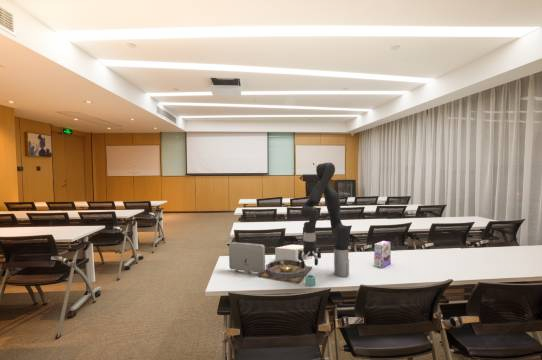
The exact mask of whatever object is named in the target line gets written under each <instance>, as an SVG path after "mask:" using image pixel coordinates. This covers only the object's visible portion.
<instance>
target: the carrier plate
mask: <svg viewBox="0 0 542 360" xmlns="http://www.w3.org/2000/svg"><path fill="white" fill-rule="evenodd" d="M280 264H281V265H276V266H274V267H271V268H270V269H271V270H272V271H276V272H279V273H283V272H280V266H283V261H280ZM284 265H287V264H284ZM289 266H293V271H292V272H290V273H293V272H298V271H300V270H303V268H301V267H300V266H295V265H290V264H289ZM306 266H307V272H306V274H305V275H303V276H300V277H297V278H286V279H283V278H277V277H272V276H270V275H268V274H267V272H266V269H265V271H263V272H262V273H261V274H259V275H258V278H263V279H269V280H275V281H280V282H286V283H293V284H299V285H300V283H302V281H303V280H304V279H305V277H306V275H309V273H310V272H311V271H312V270H313V266H310V265H306ZM285 273H288V272H285Z"/></svg>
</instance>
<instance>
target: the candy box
mask: <svg viewBox="0 0 542 360" xmlns="http://www.w3.org/2000/svg"><path fill="white" fill-rule="evenodd" d="M373 246H374V247H373V248H374V252H373V255H374V256H373V257H374V258H373V259H374V261H373V262H374V267H375V268H376V267H377V268H380V269H383V268H386V267H387V266H389V265H391V264H392V263H391V261H392V260H391V258H392V257H391V253H392V252H391V249H392V248H391V241H386V240H382V241H379V242H377V243H374V244H373Z"/></svg>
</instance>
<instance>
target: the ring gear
mask: <svg viewBox="0 0 542 360" xmlns="http://www.w3.org/2000/svg"><path fill="white" fill-rule="evenodd" d="M280 261H283V265H284V264H287V265H289V264H290V265H295V266H300V267H301V268H303V270H300V271H298V272H293V273H285V272H283V273H279V272H276V271H272V270H271V269H270V268H271V267H274V266H276V265H281V264H280ZM307 266H308V265H306V263H305V267H302V266H301V262H300V261H295V260H277V261H275V260H274V261H270V262H268V263H267V264H265V270H266V272H267V274H268V275H270V276H272V277H277V278H283V279H286V278H297V277H300V276H303V275H305V274H306V272H307Z"/></svg>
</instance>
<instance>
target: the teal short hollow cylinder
mask: <svg viewBox="0 0 542 360" xmlns="http://www.w3.org/2000/svg"><path fill="white" fill-rule="evenodd" d="M304 279H305V286H306V287H308V288H313V287H316V282H317V281H316V279H317V277H316V276H315V275H314V274H307V275H306V276H305V278H304Z"/></svg>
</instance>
